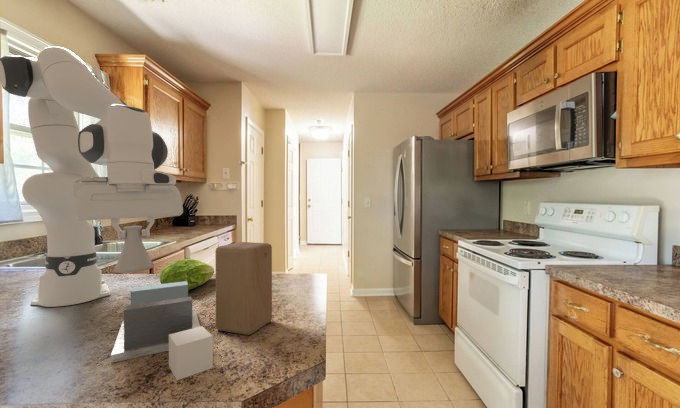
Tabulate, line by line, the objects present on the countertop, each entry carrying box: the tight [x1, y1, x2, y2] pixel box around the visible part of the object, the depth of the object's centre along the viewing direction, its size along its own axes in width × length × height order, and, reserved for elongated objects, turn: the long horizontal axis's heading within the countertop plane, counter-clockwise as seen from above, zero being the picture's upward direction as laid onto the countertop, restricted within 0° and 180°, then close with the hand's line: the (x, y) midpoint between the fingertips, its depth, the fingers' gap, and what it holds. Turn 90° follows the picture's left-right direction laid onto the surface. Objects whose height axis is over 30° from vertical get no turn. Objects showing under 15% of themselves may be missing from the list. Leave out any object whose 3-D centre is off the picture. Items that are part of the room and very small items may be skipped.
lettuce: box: [159, 258, 215, 291], centre depth 110 cm, size 12×24×13 cm
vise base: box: [110, 296, 201, 364], centre depth 70 cm, size 19×16×10 cm
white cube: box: [168, 325, 214, 381], centre depth 57 cm, size 6×6×6 cm
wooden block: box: [215, 241, 273, 336], centre depth 75 cm, size 10×10×20 cm
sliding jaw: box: [130, 281, 189, 305], centre depth 76 cm, size 4×12×8 cm, turn 120°
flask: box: [113, 225, 155, 274], centre depth 69 cm, size 7×7×10 cm
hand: (134, 238), depth 69 cm, fingers closed on flask, 3 cm apart
